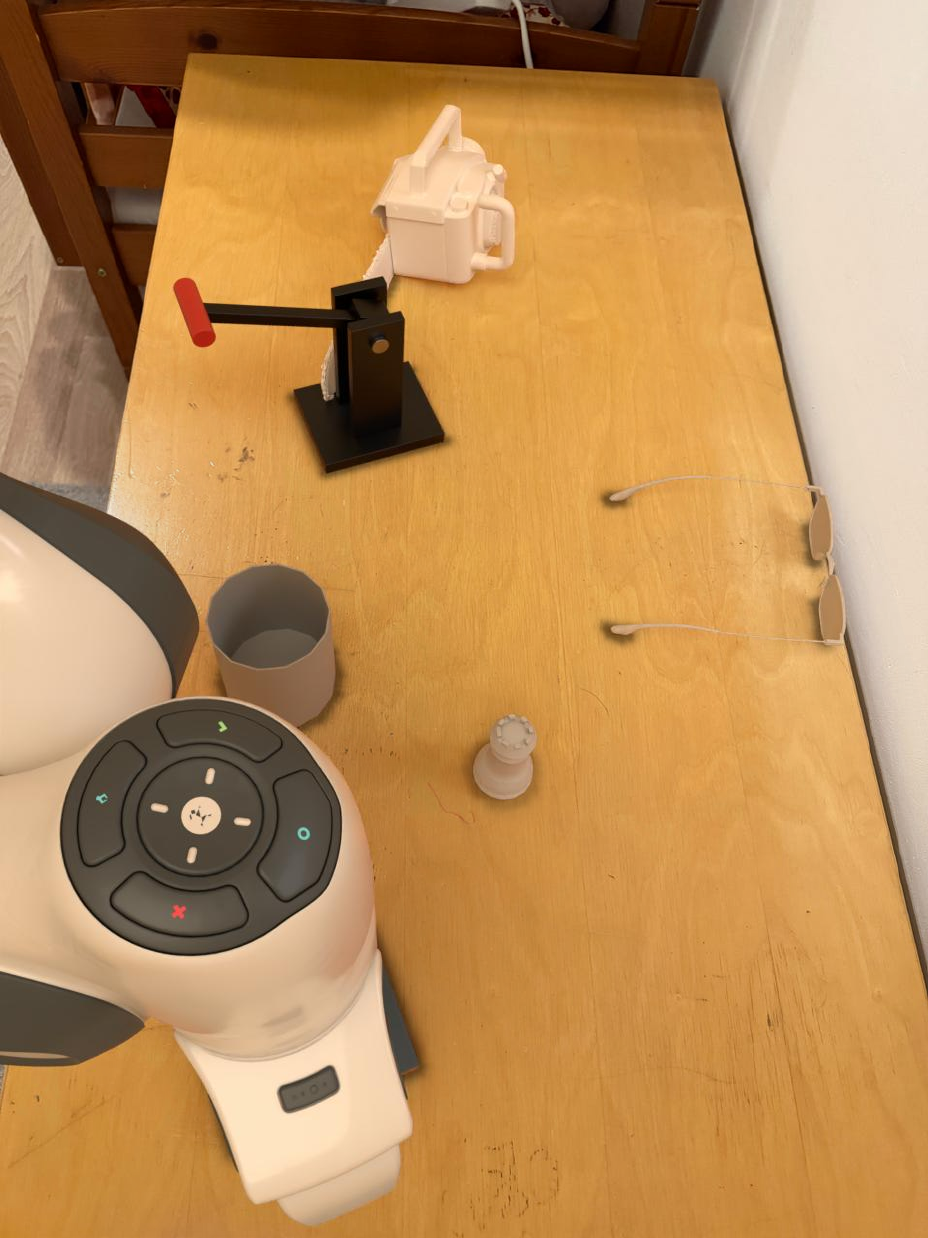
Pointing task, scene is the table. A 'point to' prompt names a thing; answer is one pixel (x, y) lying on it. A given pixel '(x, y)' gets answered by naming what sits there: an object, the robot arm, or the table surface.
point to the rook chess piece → (506, 758)
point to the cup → (274, 640)
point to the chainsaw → (439, 216)
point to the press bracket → (368, 390)
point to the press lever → (262, 314)
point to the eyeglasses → (821, 548)
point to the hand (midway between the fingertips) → (293, 998)
